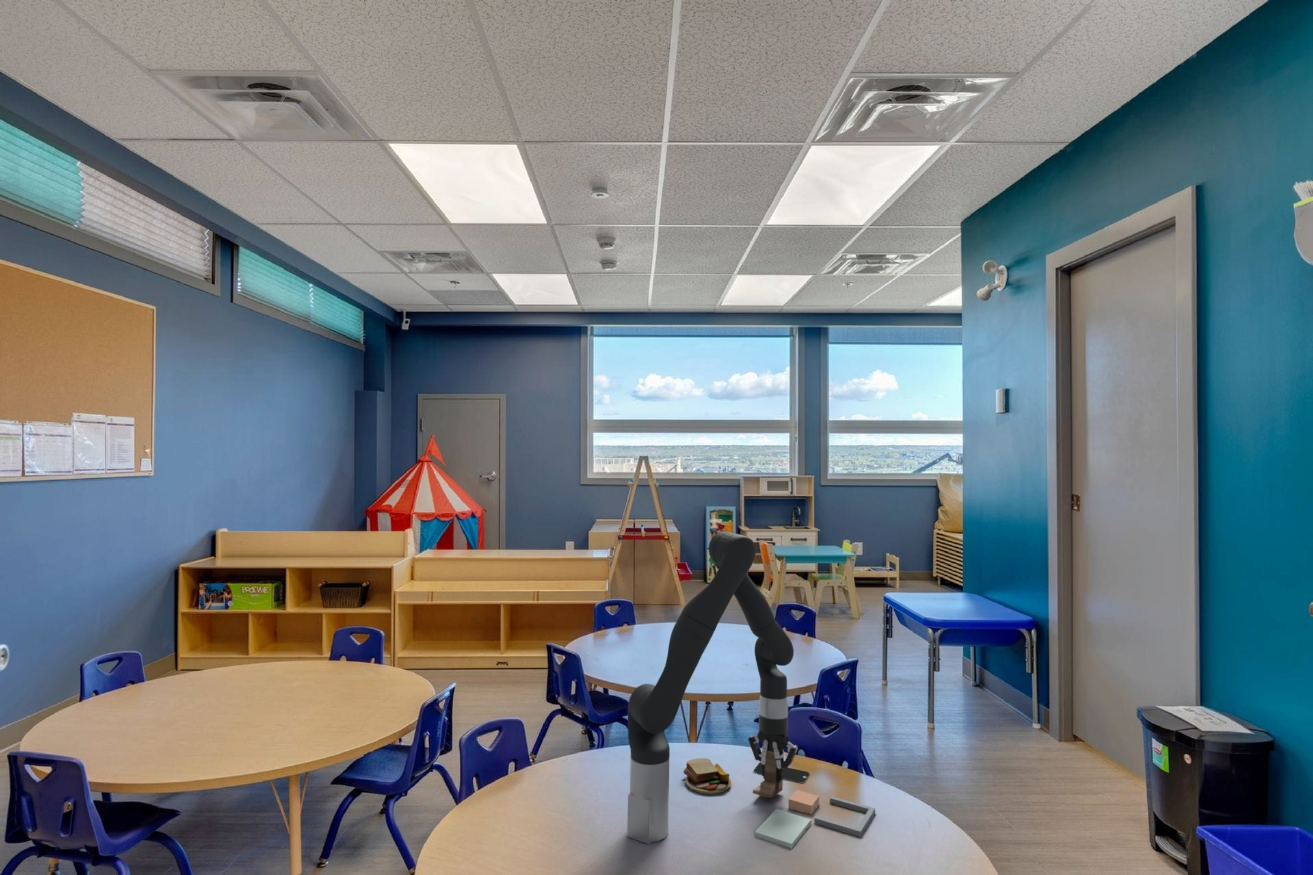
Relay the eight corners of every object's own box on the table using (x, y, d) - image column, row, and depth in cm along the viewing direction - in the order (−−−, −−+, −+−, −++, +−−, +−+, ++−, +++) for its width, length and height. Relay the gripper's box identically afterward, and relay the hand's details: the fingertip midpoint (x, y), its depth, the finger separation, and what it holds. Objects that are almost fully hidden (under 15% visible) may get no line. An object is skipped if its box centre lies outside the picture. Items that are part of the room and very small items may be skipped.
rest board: (791, 848, 151) (791, 843, 151) (754, 836, 156) (755, 831, 156) (811, 823, 162) (811, 819, 162) (776, 813, 167) (776, 808, 167)
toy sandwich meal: (694, 798, 174) (694, 780, 174) (677, 776, 187) (678, 758, 187) (738, 793, 177) (738, 774, 178) (719, 771, 190) (719, 754, 191)
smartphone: (804, 783, 183) (752, 771, 189) (804, 785, 183) (752, 773, 189) (811, 772, 190) (760, 761, 196) (811, 774, 190) (760, 763, 196)
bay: (860, 836, 156) (860, 831, 156) (814, 822, 162) (814, 817, 162) (875, 813, 168) (875, 808, 168) (831, 800, 174) (831, 796, 174)
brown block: (770, 798, 170) (773, 752, 172) (752, 793, 173) (755, 748, 175) (782, 790, 177) (784, 746, 179) (764, 785, 180) (767, 742, 181)
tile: (811, 815, 166) (811, 805, 167) (788, 809, 170) (788, 799, 170) (819, 805, 172) (819, 795, 172) (796, 799, 175) (796, 789, 175)
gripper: (743, 711, 177) (742, 778, 176) (793, 722, 169) (792, 792, 168) (754, 703, 183) (753, 768, 182) (803, 714, 176) (803, 781, 175)
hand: (772, 779), depth 175 cm, fingers closed on brown block, 3 cm apart
